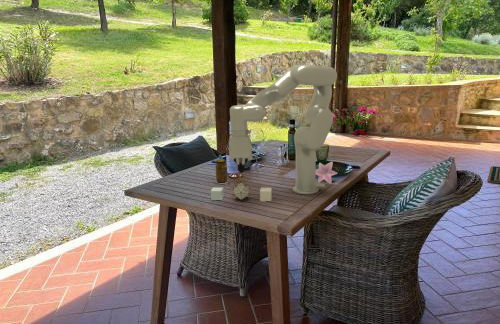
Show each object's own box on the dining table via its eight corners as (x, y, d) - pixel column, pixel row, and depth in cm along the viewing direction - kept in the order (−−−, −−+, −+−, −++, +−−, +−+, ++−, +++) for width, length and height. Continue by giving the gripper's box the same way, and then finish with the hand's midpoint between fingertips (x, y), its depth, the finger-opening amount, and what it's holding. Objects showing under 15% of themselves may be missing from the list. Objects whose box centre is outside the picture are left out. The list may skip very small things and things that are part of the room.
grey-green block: (223, 197, 188) (223, 187, 187) (221, 201, 183) (221, 191, 182) (213, 197, 189) (212, 187, 187) (211, 201, 184) (210, 191, 183)
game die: (240, 205, 187) (240, 185, 191) (254, 201, 183) (254, 181, 186) (228, 201, 181) (228, 180, 185) (242, 197, 176) (242, 176, 180)
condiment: (227, 179, 215) (226, 158, 212) (230, 184, 207) (229, 162, 204) (214, 181, 213) (212, 159, 210) (216, 185, 205) (215, 163, 202)
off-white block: (271, 197, 185) (271, 187, 184) (271, 201, 181) (270, 191, 179) (261, 197, 186) (260, 187, 185) (260, 201, 181) (259, 191, 180)
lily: (308, 181, 210) (309, 169, 204) (321, 169, 216) (322, 156, 209) (327, 192, 204) (328, 179, 197) (340, 179, 210) (341, 166, 203)
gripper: (256, 131, 179) (258, 169, 184) (224, 132, 181) (227, 170, 186) (255, 134, 172) (256, 174, 177) (221, 135, 174) (224, 174, 179)
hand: (241, 172), depth 181 cm, fingers closed
